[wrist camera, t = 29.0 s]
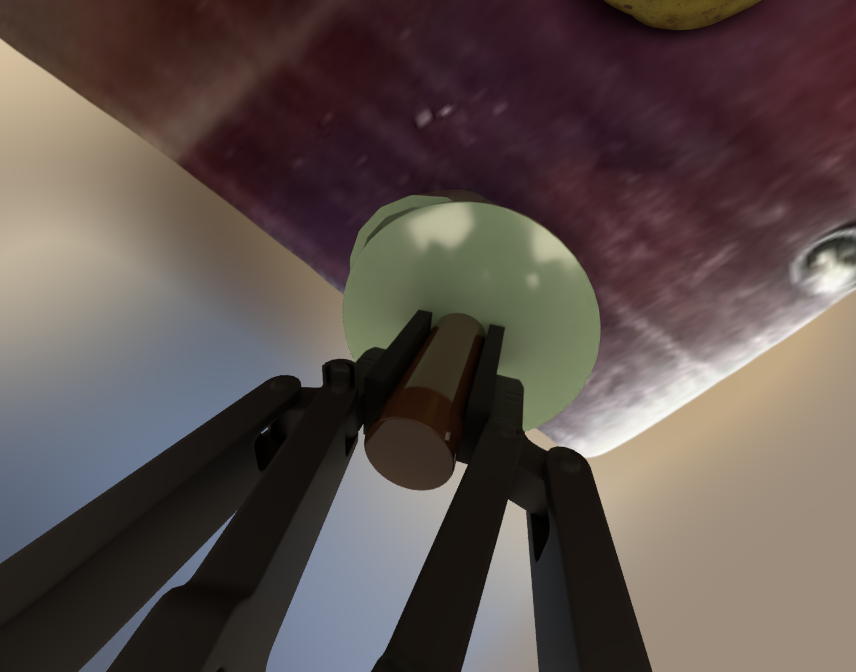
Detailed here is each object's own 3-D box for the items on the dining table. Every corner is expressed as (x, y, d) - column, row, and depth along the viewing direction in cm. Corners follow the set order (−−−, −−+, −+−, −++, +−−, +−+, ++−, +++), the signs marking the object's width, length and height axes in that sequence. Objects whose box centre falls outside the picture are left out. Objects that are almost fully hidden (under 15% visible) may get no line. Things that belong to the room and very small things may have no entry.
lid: (398, 147, 16) (248, 125, 8) (662, 283, 15) (816, 421, 7) (328, 360, 23) (208, 473, 14) (508, 459, 22) (494, 636, 14)
